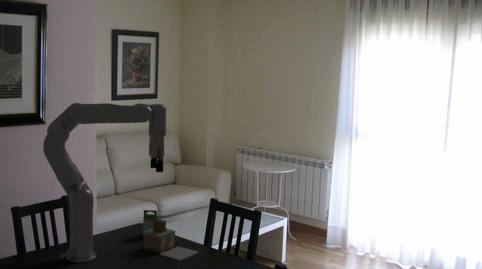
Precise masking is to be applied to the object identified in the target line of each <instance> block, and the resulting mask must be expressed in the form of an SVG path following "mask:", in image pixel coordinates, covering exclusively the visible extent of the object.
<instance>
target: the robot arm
mask: <svg viewBox="0 0 482 269" xmlns="http://www.w3.org/2000/svg"><path fill="white" fill-rule="evenodd" d="M147 122H148V136H149V141H148V156H149V157H150V168H151V169H155V172H156V173H163V172H164V158H165V137H166V135H167V106H166V105H165V104H162V103H161V104H160V103H154V104H147V103H136V104H133V105H127V104H126V105H120V104H116V103H115V104H114V103H110V102H109V103H108V102H107V103H105V102H104V103H103V102H102V103H80V102H72V103H71V104H70V105H69V106H68V107H67V108H66V109H65V110H63V112H61V113H60V114H59V115H58V116H57V117H56V118H55V119H54V120H53V121H51V123H49V125H47V126H48V127H47V128H46V133H47V134H46V136H45V138H44V140H43V145H42V146H43V148H42V149H43V154H44V156H45V158H46V160H47V162H48V164H49V165H50V168H51V169H52V171H53V173H54V174H55V178H56V179H57V182H59V184H60V185H61V187H62V189H63V190H64V192H65V193H66V195H67V197H68V199H69V248H68V249H67V251H66V252H63V253H61V254H60V258H61V259H66V260H67V261H69V262H72V263H85V262H86V263H87V262H90V261H93V260H95V259H96V258H97V256H98V255H97V253H96V252H95V251H94V247H93V246H94V244H93V243H94V239H93V238H94V235H93V234H94V218H93V217H94V205H95V204H94V203H95V202H94V200H95V198H94V194H93V191H92V190H91V188H90V187H89V185H88V183H87V182H86V180H85V179H84V177H83V175H82V174H81V172H80V170H79V168H78V167H77V164H75V163H74V162H73V160H72V158H71V157H70V154H69V153H68V151H67V149H66V142H67V141H68V139H69V137H70V135H71V134H70V133H71V132H72V131H74V129H76V127H78V126H79V125H91V124H92V125H93V124H97V125H98V124H137V123H138V124H139V123H140V124H141V123H142V124H143V123H147Z"/></svg>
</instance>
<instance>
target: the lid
mask: <svg viewBox="0 0 482 269" xmlns="http://www.w3.org/2000/svg"><path fill="white" fill-rule="evenodd" d="M144 234H145V235H148V236H152V237H156V238H160V239H161V238H164V237H166V236H169V235H172V234H175V235H176V230H173V229H169V228H167V220H164V219H160V218H159V219H156V220H153V229H150V230H147V231H144Z"/></svg>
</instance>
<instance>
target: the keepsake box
mask: <svg viewBox="0 0 482 269" xmlns="http://www.w3.org/2000/svg"><path fill="white" fill-rule="evenodd" d="M175 242H176V233H175V234H172V235H169V236H166V237H164V238H161V239H160V238H156V237H152V236H148V235H145V234H144V236H143V250H146V251H150V252H153V253H157V254H159V255H160V254H161V253H163V252H166V251H168V250H171V249H173V248H176V247H175Z"/></svg>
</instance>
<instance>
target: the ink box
mask: <svg viewBox="0 0 482 269" xmlns="http://www.w3.org/2000/svg"><path fill="white" fill-rule="evenodd" d="M150 213H151V214H150ZM152 213H153V214H152ZM156 219H160V216H159V215H158V210H151V209H144V210H143V219H142V221H143V222H142V223H143V225H142V226H143V227H142V236H143V237H144V231H147V230H150V229H153V220H156Z"/></svg>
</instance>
